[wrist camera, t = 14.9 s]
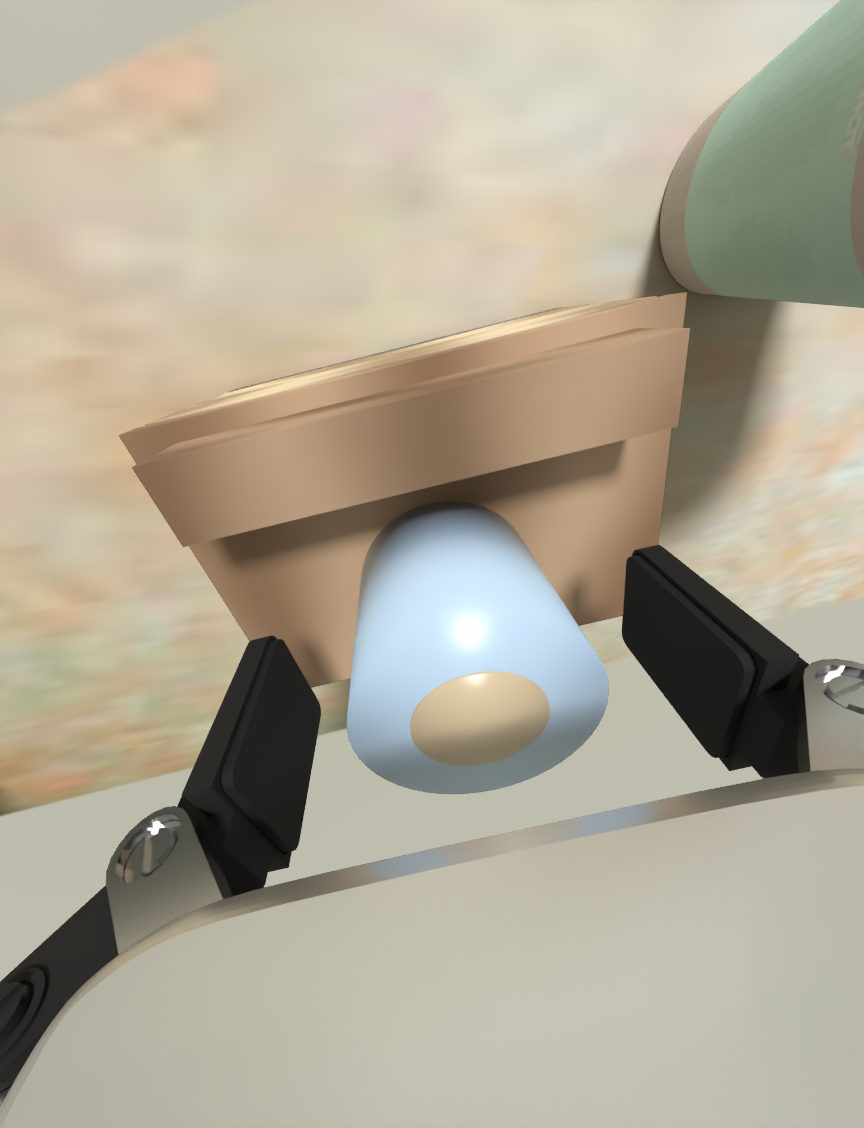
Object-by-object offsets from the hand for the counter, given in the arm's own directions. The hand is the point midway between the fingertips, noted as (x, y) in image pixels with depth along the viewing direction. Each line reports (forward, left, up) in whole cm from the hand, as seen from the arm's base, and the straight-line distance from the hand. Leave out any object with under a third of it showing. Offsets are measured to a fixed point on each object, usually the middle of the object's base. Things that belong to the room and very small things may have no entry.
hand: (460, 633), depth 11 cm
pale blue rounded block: (0, 0, -3) cm, 3 cm away
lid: (0, +2, -4) cm, 4 cm away
